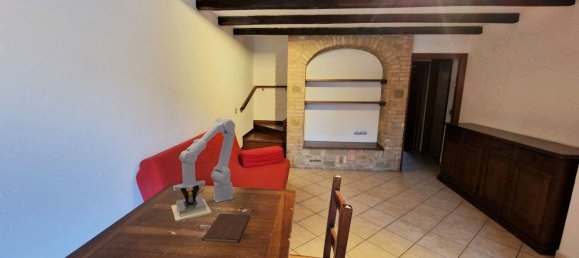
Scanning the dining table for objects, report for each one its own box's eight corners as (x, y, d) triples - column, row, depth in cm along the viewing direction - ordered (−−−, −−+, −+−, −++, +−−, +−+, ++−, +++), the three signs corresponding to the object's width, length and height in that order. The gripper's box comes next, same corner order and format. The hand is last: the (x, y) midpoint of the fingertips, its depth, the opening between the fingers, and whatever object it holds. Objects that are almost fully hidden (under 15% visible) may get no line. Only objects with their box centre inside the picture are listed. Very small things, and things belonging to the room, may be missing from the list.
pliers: (173, 202, 133) (189, 187, 153) (173, 204, 133) (189, 188, 153) (191, 203, 133) (205, 187, 152) (191, 204, 133) (205, 189, 152)
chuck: (200, 201, 134) (200, 195, 133) (206, 210, 124) (205, 204, 123) (176, 206, 128) (175, 200, 127) (179, 217, 118) (179, 210, 117)
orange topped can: (193, 204, 127) (192, 189, 126) (194, 206, 125) (193, 191, 124) (186, 205, 126) (185, 190, 124) (188, 208, 123) (187, 192, 122)
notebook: (202, 241, 102) (202, 236, 102) (219, 216, 122) (219, 212, 121) (238, 243, 101) (238, 239, 101) (250, 218, 121) (250, 214, 120)
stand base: (203, 200, 137) (203, 198, 137) (211, 213, 123) (211, 211, 123) (171, 207, 129) (171, 205, 128) (175, 222, 115) (175, 220, 115)
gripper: (173, 180, 116) (175, 208, 118) (206, 175, 123) (207, 201, 125) (171, 175, 122) (173, 202, 124) (202, 170, 129) (204, 195, 131)
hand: (190, 201), depth 125 cm, fingers closed on orange topped can, 3 cm apart
